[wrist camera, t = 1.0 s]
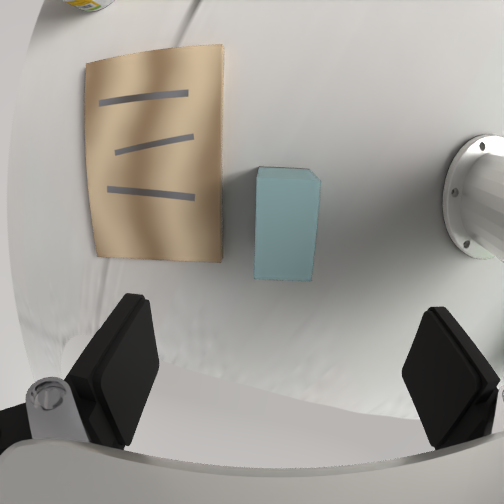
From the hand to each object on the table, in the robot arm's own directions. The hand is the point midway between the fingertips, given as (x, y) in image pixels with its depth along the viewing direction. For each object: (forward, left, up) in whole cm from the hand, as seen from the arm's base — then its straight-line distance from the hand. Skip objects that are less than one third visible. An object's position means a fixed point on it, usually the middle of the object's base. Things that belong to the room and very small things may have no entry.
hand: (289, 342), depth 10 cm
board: (+11, -4, -17) cm, 21 cm away
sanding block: (0, 0, -17) cm, 17 cm away
